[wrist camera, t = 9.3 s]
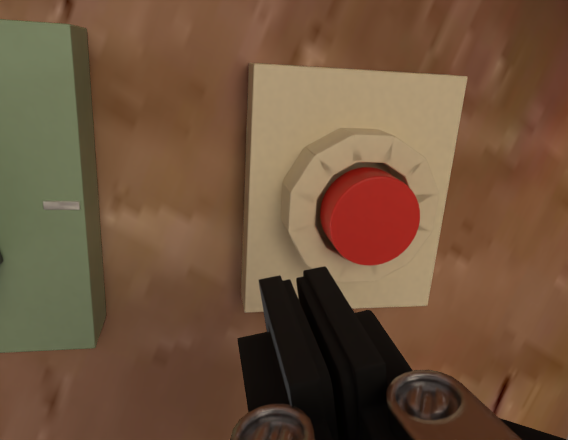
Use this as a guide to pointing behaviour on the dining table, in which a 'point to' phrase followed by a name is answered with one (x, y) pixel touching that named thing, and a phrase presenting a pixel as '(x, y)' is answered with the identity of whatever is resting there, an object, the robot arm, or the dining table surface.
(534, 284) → the dining table surface
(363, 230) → the power button
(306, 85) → the switch box
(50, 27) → the panel
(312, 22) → the dining table surface
